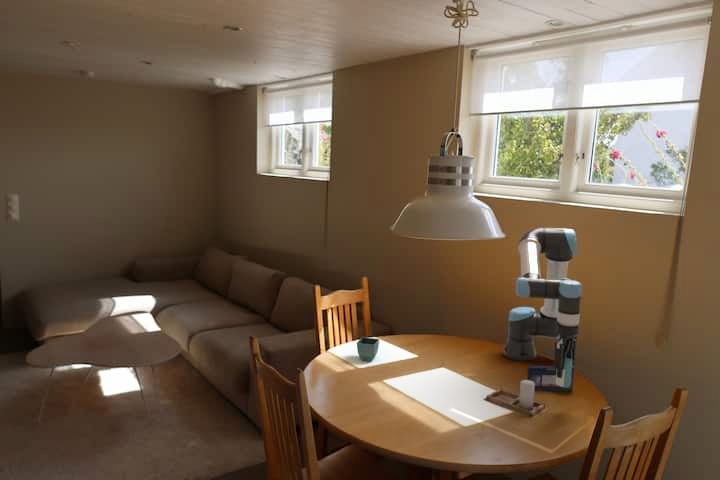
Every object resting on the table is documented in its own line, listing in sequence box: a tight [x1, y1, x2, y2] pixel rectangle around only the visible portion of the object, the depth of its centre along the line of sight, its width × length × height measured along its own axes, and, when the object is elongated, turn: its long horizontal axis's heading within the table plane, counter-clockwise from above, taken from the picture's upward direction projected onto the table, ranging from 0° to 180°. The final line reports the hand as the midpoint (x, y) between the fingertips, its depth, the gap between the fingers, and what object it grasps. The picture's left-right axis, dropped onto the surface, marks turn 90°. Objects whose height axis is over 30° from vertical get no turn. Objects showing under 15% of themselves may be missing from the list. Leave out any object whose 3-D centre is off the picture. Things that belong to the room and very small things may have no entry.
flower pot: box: [356, 336, 380, 362], centre depth 242 cm, size 9×9×9 cm
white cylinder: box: [519, 379, 535, 411], centre depth 193 cm, size 5×5×10 cm
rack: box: [482, 388, 550, 420], centre depth 197 cm, size 12×21×2 cm, turn 44°
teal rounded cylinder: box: [557, 357, 573, 388], centre depth 191 cm, size 5×5×10 cm
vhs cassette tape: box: [526, 365, 575, 392], centre depth 211 cm, size 18×3×10 cm, turn 89°
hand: (563, 382), depth 192 cm, fingers closed on teal rounded cylinder, 5 cm apart
